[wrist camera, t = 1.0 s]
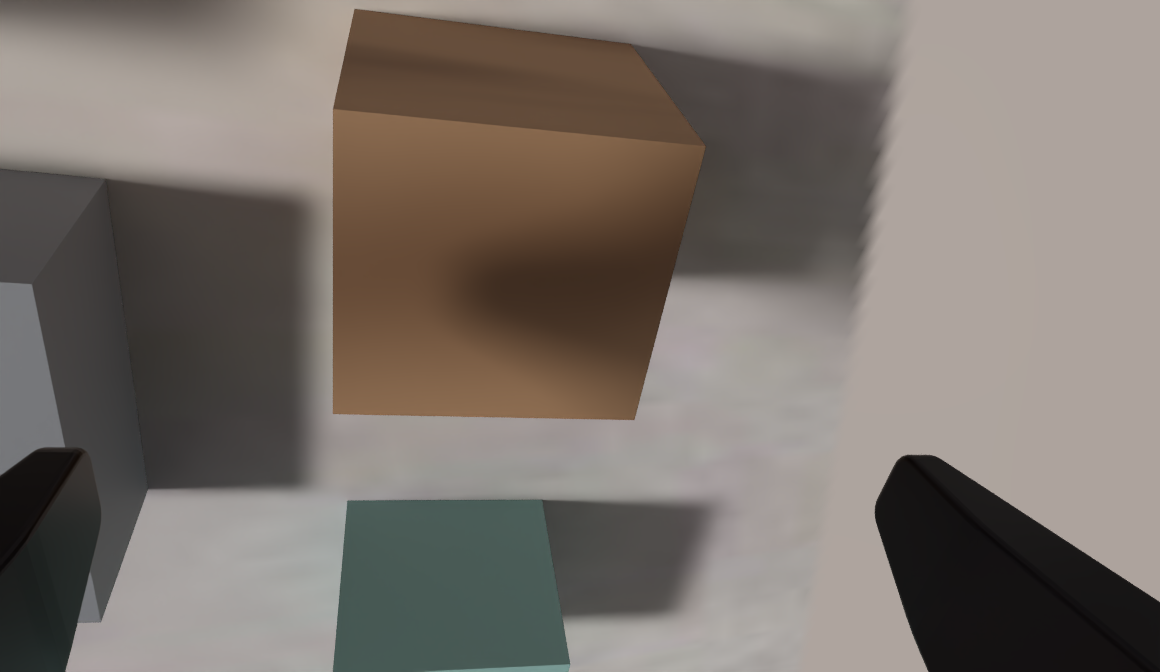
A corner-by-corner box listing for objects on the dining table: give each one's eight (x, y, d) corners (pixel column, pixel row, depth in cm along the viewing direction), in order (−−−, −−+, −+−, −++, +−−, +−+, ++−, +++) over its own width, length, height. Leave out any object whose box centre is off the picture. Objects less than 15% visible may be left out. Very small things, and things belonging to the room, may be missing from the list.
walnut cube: (585, 272, 18) (634, 420, 14) (350, 257, 17) (332, 414, 13) (630, 42, 16) (706, 146, 12) (355, 8, 14) (333, 109, 10)
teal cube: (518, 616, 25) (539, 783, 21) (346, 622, 24) (332, 800, 20) (541, 497, 22) (570, 663, 18) (347, 498, 21) (332, 675, 17)
